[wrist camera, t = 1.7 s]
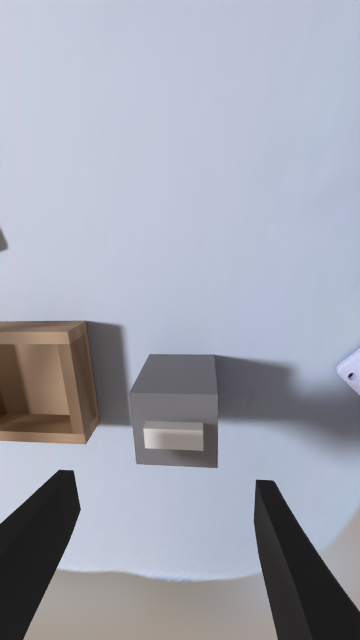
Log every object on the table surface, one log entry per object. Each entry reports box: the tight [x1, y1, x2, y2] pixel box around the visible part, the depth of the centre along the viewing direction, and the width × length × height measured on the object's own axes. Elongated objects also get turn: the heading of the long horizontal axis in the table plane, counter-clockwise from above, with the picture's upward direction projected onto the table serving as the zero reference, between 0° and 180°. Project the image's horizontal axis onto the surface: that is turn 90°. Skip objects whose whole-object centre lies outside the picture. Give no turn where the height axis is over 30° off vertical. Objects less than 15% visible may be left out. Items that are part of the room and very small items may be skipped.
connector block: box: [129, 354, 218, 468], centre depth 15 cm, size 4×4×6 cm
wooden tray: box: [0, 321, 100, 444], centre depth 18 cm, size 8×8×2 cm
